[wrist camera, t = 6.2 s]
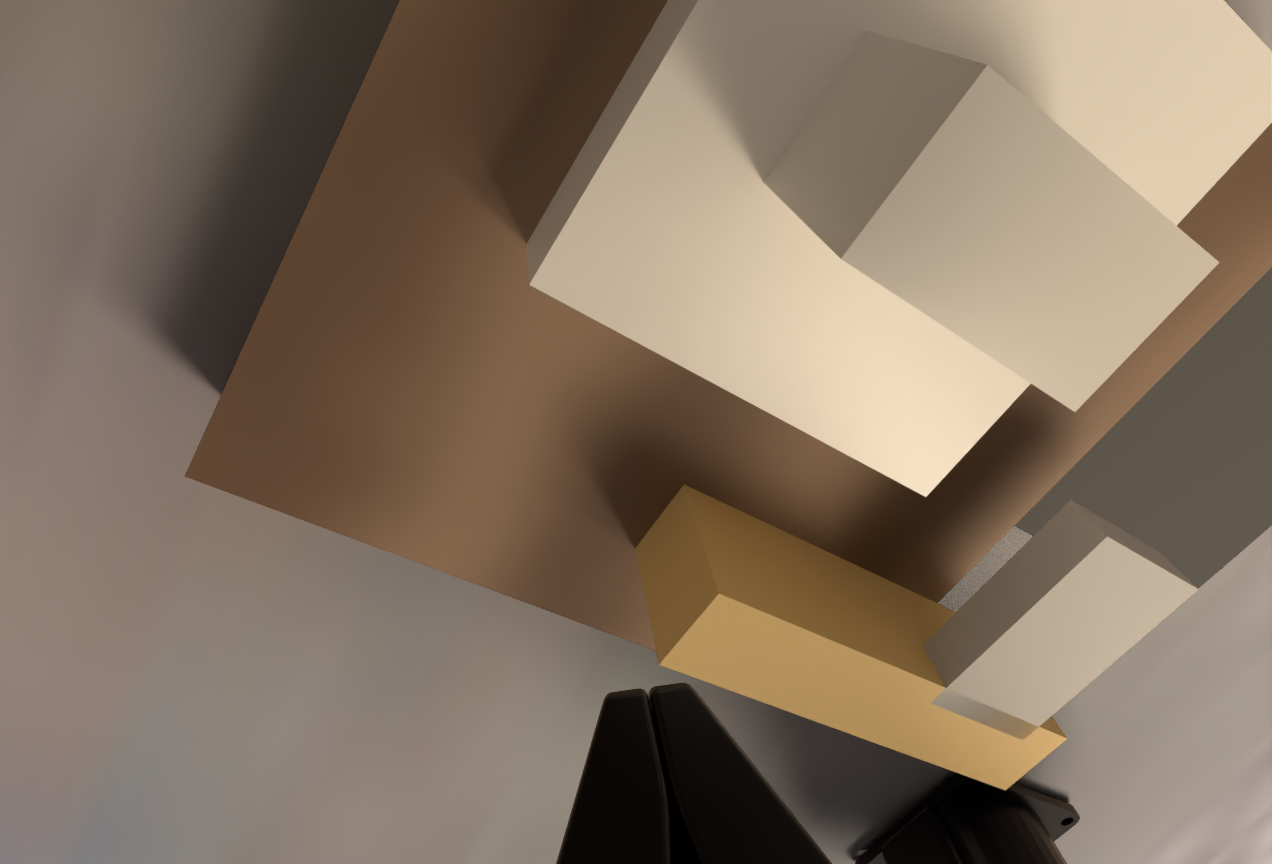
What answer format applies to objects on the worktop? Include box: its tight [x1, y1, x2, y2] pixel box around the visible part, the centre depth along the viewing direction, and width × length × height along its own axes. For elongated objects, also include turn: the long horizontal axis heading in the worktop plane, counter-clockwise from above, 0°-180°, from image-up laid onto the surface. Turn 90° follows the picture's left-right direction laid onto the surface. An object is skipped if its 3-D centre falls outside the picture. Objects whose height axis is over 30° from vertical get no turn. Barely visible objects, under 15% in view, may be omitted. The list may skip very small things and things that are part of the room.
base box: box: [185, 0, 1272, 651], centre depth 18 cm, size 17×17×3 cm
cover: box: [527, 0, 1272, 497], centre depth 13 cm, size 9×9×6 cm
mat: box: [1014, 267, 1272, 588], centre depth 23 cm, size 10×10×1 cm
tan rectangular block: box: [635, 484, 1198, 790], centre depth 18 cm, size 10×6×4 cm, turn 57°
